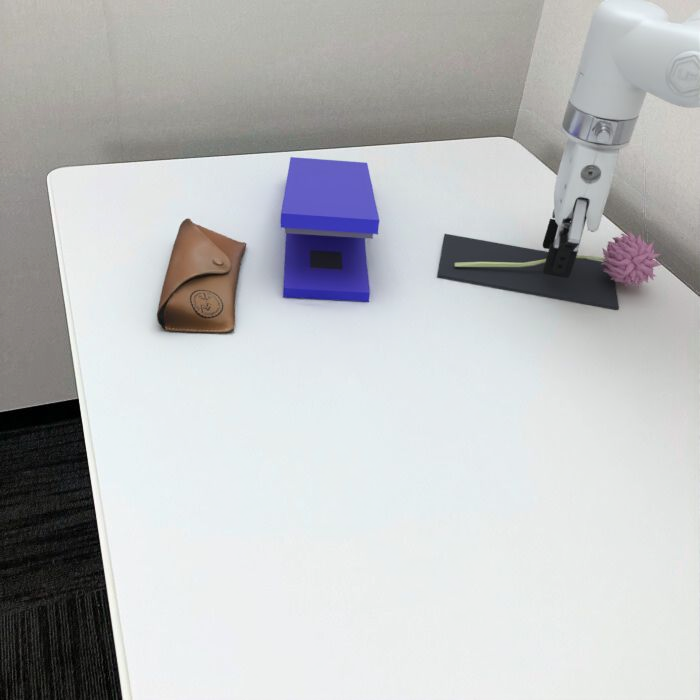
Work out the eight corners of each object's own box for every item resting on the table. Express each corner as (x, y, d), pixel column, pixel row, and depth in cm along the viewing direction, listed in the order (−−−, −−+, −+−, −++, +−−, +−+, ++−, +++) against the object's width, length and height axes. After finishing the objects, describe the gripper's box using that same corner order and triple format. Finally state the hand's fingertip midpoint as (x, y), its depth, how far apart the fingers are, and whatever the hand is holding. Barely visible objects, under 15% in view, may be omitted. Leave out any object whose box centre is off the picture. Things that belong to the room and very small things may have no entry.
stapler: (277, 297, 88) (280, 222, 82) (283, 180, 110) (286, 114, 104) (377, 302, 89) (387, 228, 83) (364, 185, 111) (371, 120, 105)
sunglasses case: (238, 331, 82) (204, 285, 78) (182, 354, 84) (146, 311, 80) (248, 240, 96) (219, 197, 92) (199, 262, 98) (169, 221, 94)
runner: (611, 265, 101) (612, 263, 100) (618, 310, 93) (619, 307, 93) (444, 236, 102) (444, 233, 102) (437, 277, 95) (437, 274, 94)
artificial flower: (458, 307, 94) (665, 295, 94) (459, 254, 91) (673, 241, 90) (451, 283, 100) (646, 272, 99) (452, 233, 97) (653, 220, 96)
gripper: (642, 162, 78) (589, 306, 89) (626, 99, 91) (582, 232, 102) (567, 149, 78) (524, 295, 90) (562, 88, 91) (525, 222, 103)
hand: (555, 260), depth 96 cm, fingers open, 5 cm apart
